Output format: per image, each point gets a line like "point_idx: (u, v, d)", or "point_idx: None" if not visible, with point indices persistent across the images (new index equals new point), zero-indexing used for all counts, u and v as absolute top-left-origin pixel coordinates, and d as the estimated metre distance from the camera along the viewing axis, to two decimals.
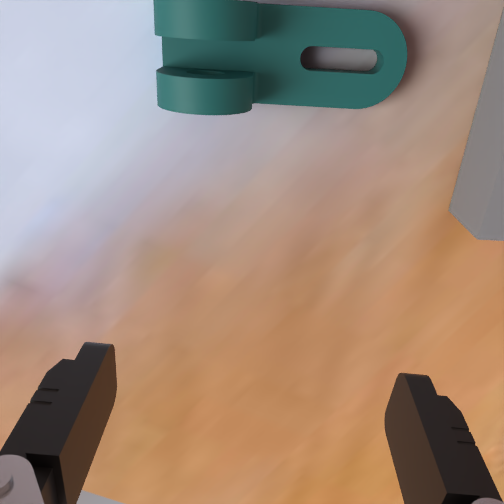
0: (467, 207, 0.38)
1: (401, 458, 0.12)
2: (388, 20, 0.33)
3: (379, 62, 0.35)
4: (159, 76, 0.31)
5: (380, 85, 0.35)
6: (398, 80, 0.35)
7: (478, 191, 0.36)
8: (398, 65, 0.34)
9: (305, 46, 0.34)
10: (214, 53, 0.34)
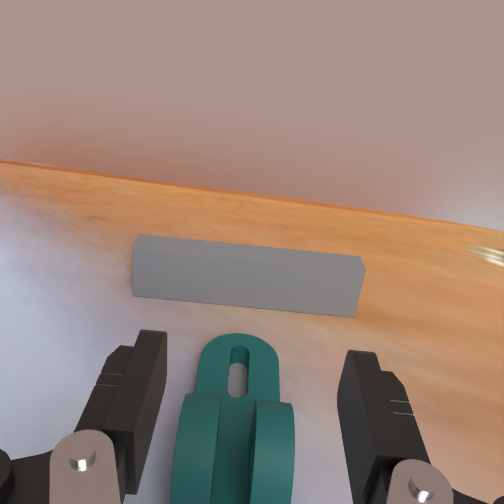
0: (345, 292, 0.49)
1: (347, 430, 0.12)
2: (210, 343, 0.41)
3: (240, 355, 0.42)
4: (256, 482, 0.26)
5: (258, 346, 0.41)
6: (254, 337, 0.43)
7: (330, 282, 0.48)
8: (242, 337, 0.42)
9: (227, 394, 0.36)
10: (231, 470, 0.30)
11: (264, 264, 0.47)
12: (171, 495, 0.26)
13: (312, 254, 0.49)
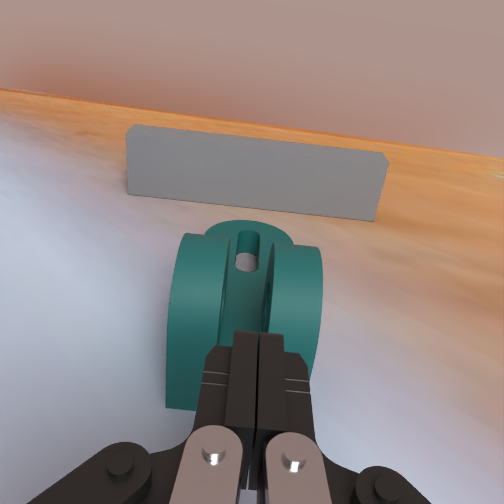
0: (365, 189, 0.43)
1: None
2: (214, 227, 0.36)
3: (249, 243, 0.37)
4: (275, 317, 0.20)
5: (269, 231, 0.36)
6: (264, 224, 0.37)
7: (349, 177, 0.43)
8: (251, 224, 0.37)
9: (234, 268, 0.31)
10: None
11: (275, 154, 0.42)
12: (168, 333, 0.21)
13: (328, 148, 0.44)
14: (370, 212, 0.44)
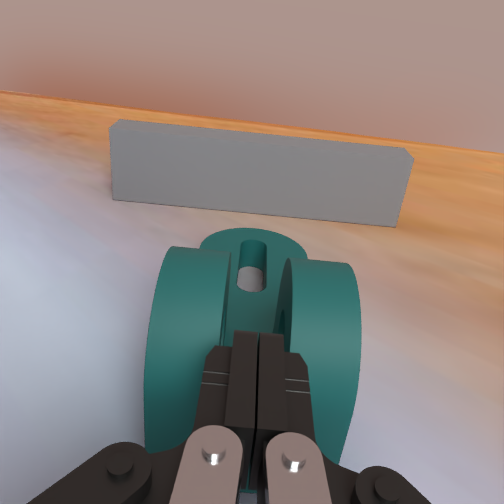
0: (386, 190, 0.38)
1: None
2: (212, 236, 0.30)
3: (253, 255, 0.31)
4: None
5: (277, 241, 0.30)
6: (271, 232, 0.31)
7: (367, 177, 0.37)
8: (256, 232, 0.31)
9: (236, 287, 0.25)
10: None
11: (282, 151, 0.36)
12: (145, 389, 0.15)
13: (343, 143, 0.38)
14: (392, 216, 0.39)
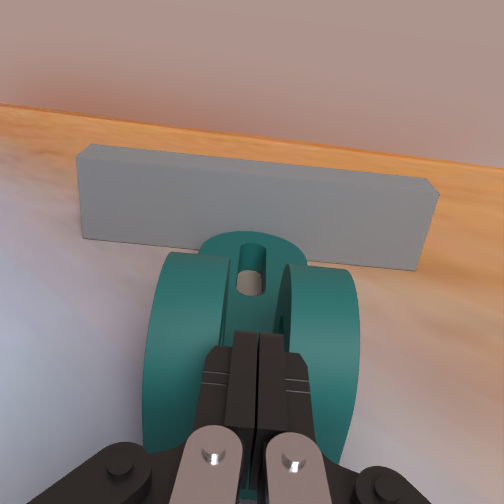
0: (405, 230, 0.32)
1: None
2: (211, 239, 0.30)
3: (253, 258, 0.31)
4: None
5: (277, 245, 0.30)
6: (271, 235, 0.31)
7: (383, 214, 0.31)
8: (255, 235, 0.31)
9: (236, 291, 0.25)
10: None
11: (282, 184, 0.30)
12: (144, 395, 0.15)
13: (354, 173, 0.32)
14: (411, 259, 0.33)
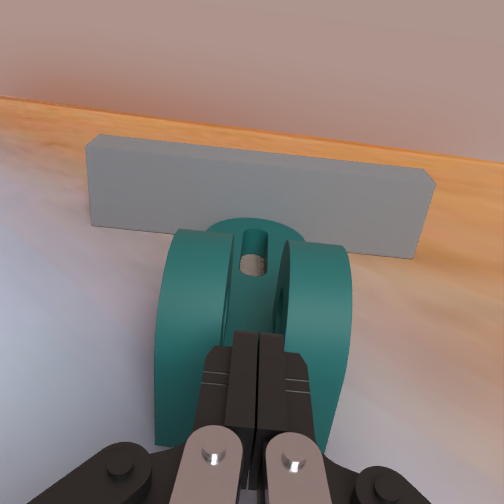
0: (403, 218, 0.33)
1: None
2: (216, 225, 0.32)
3: (255, 243, 0.32)
4: (292, 334, 0.16)
5: (278, 230, 0.32)
6: (272, 221, 0.33)
7: (381, 203, 0.32)
8: (258, 222, 0.33)
9: (239, 272, 0.27)
10: None
11: (284, 173, 0.31)
12: (156, 355, 0.16)
13: (354, 164, 0.33)
14: (409, 247, 0.34)
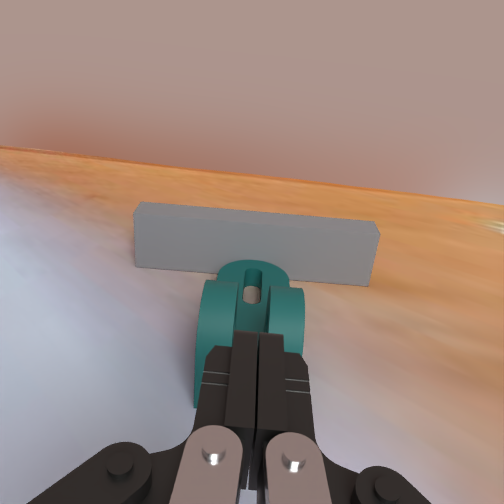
0: (359, 258, 0.46)
1: None
2: (225, 266, 0.45)
3: (253, 278, 0.45)
4: None
5: (270, 269, 0.45)
6: (266, 262, 0.46)
7: (343, 248, 0.45)
8: (255, 263, 0.46)
9: (242, 301, 0.40)
10: None
11: (273, 229, 0.45)
12: (196, 354, 0.29)
13: (323, 219, 0.47)
14: (364, 278, 0.47)
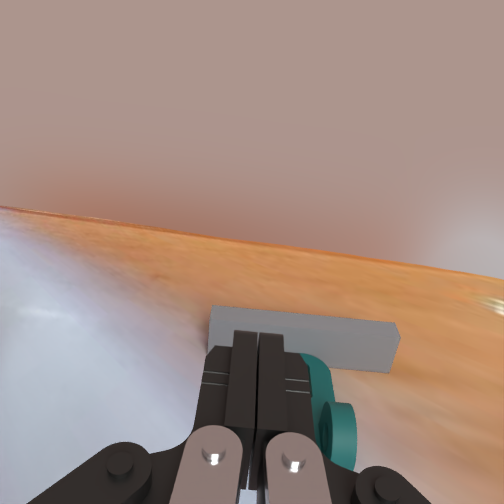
0: (383, 353, 0.59)
1: None
2: None
3: None
4: (334, 451, 0.42)
5: (314, 363, 0.58)
6: (310, 355, 0.59)
7: (371, 346, 0.58)
8: (302, 356, 0.59)
9: None
10: None
11: (317, 332, 0.58)
12: None
13: (355, 321, 0.60)
14: (386, 367, 0.60)
